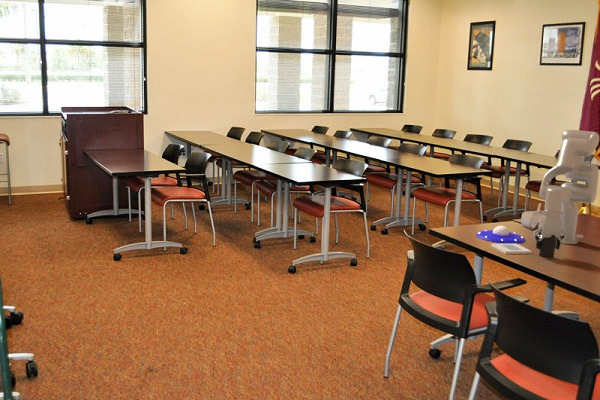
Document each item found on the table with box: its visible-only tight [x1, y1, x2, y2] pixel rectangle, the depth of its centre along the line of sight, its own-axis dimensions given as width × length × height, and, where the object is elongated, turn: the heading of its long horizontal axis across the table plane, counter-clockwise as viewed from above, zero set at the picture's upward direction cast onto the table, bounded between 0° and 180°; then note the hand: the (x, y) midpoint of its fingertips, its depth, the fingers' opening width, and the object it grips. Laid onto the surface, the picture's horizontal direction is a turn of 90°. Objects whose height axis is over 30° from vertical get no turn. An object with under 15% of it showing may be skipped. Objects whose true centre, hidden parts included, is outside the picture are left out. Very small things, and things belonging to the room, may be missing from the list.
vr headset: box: [520, 202, 544, 230], centre depth 371 cm, size 18×11×14 cm, turn 98°
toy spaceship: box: [475, 225, 526, 245], centre depth 344 cm, size 25×25×7 cm
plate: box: [490, 243, 532, 255], centre depth 321 cm, size 14×14×1 cm
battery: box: [538, 235, 557, 259], centre depth 311 cm, size 7×4×11 cm, turn 64°
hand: (547, 248), depth 311 cm, fingers open, 9 cm apart
